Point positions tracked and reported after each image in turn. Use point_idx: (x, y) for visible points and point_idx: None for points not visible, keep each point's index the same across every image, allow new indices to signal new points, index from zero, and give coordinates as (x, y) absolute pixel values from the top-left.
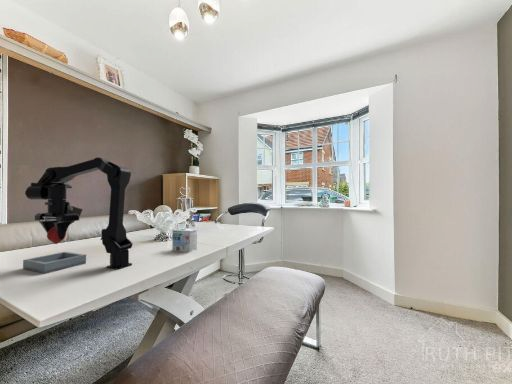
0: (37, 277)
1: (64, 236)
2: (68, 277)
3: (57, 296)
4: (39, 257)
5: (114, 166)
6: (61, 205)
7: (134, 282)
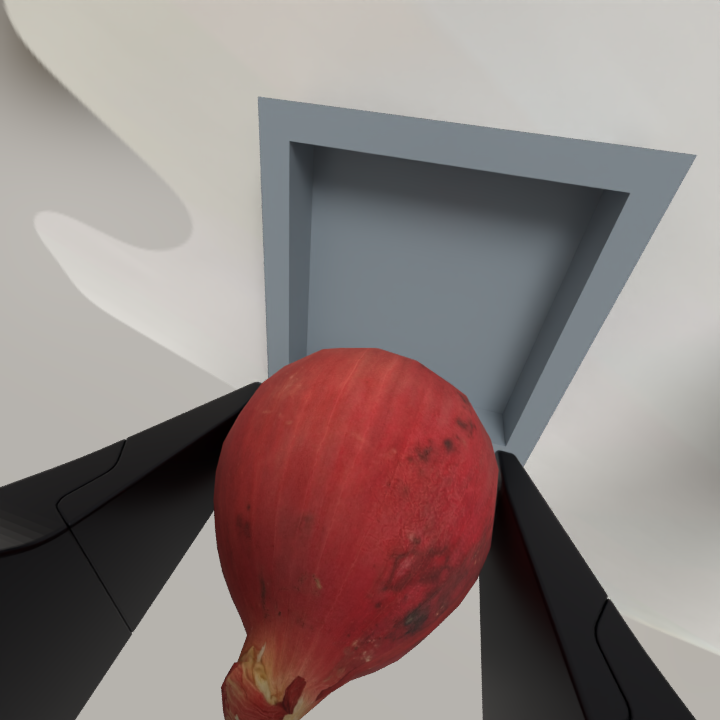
0: (532, 467)
1: (489, 439)
2: None
3: None
4: (290, 337)
5: None
6: None
7: None
